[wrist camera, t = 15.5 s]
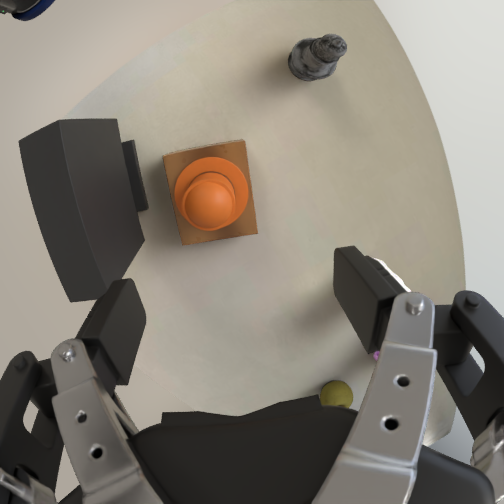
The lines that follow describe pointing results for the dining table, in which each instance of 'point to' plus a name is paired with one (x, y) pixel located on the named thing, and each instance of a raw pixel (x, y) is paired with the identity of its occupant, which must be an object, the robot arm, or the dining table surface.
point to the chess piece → (316, 57)
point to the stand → (224, 150)
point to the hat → (211, 193)
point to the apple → (336, 394)
